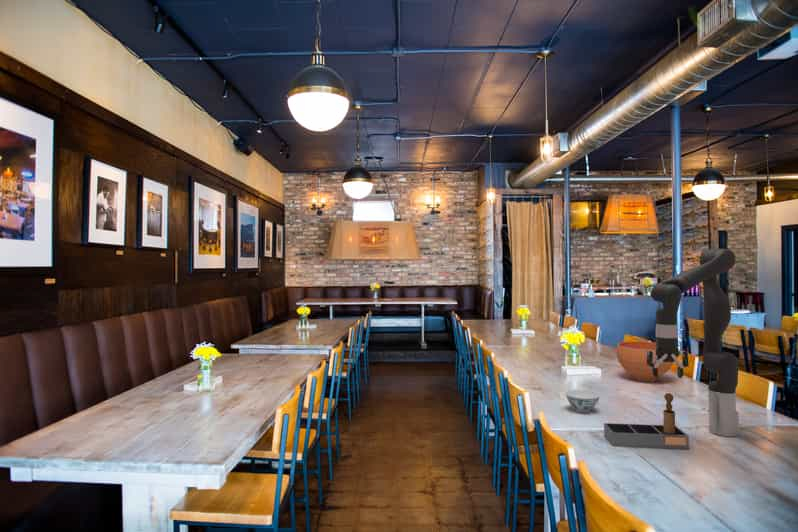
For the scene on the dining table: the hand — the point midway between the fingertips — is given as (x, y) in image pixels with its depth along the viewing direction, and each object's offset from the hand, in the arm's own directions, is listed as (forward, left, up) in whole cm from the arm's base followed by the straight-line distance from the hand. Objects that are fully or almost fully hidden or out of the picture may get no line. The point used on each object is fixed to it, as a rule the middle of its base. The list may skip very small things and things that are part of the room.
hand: (667, 377), depth 180 cm
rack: (+9, 0, -26) cm, 27 cm away
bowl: (-27, -104, -26) cm, 110 cm away
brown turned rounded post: (0, 0, -25) cm, 25 cm away
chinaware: (+23, -39, -26) cm, 52 cm away
